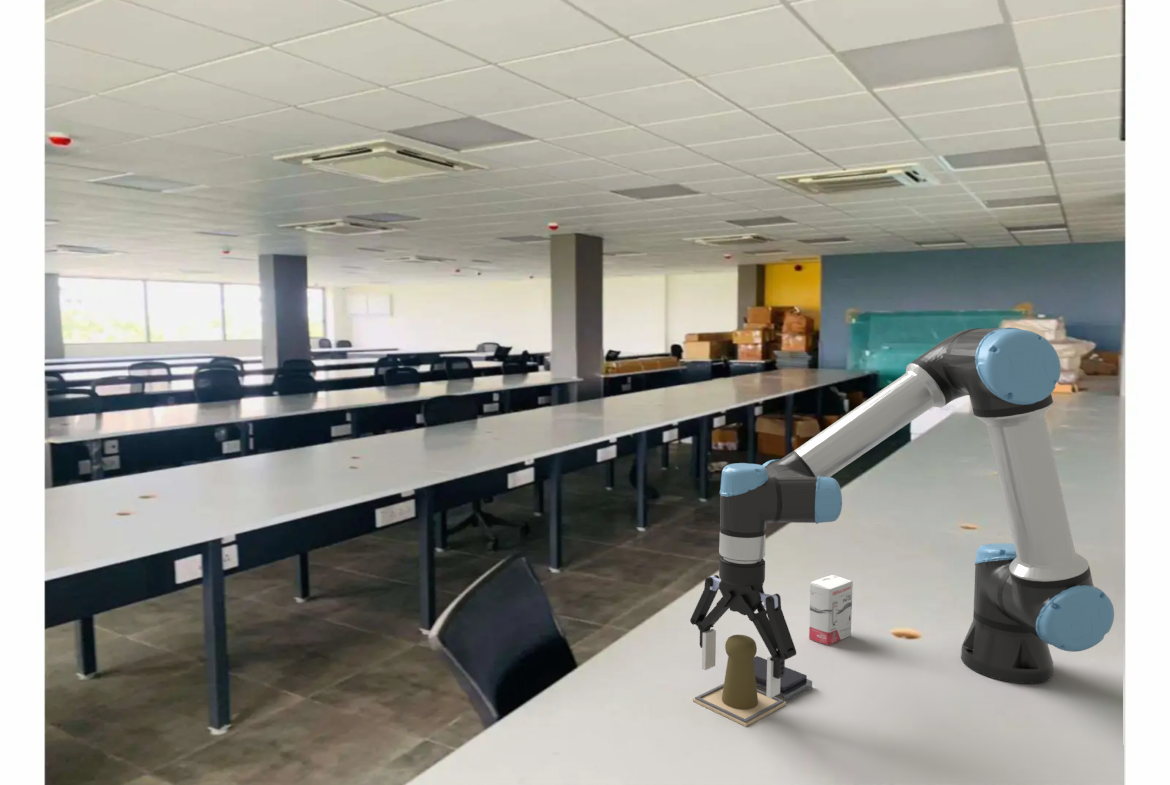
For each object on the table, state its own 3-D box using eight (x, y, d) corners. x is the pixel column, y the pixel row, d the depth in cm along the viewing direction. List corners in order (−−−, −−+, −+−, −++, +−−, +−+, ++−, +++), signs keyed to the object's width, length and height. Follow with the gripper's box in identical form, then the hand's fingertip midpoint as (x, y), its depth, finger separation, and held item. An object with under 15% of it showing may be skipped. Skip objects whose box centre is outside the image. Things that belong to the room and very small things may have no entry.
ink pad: (812, 687, 135) (812, 675, 135) (784, 702, 129) (784, 690, 129) (755, 664, 144) (756, 653, 144) (727, 678, 138) (728, 666, 138)
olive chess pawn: (753, 692, 132) (754, 630, 131) (762, 709, 126) (763, 644, 125) (718, 692, 132) (719, 630, 131) (725, 709, 126) (727, 645, 125)
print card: (785, 704, 129) (786, 700, 129) (745, 726, 121) (745, 722, 121) (733, 681, 137) (733, 677, 137) (692, 701, 130) (693, 697, 130)
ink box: (828, 646, 152) (830, 588, 151) (807, 638, 156) (808, 582, 155) (852, 635, 158) (854, 579, 157) (831, 628, 162) (832, 573, 161)
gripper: (820, 570, 120) (817, 700, 122) (699, 537, 139) (697, 651, 141) (793, 580, 115) (790, 716, 117) (671, 545, 134) (670, 662, 136)
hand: (739, 680), depth 129 cm, fingers open, 13 cm apart
